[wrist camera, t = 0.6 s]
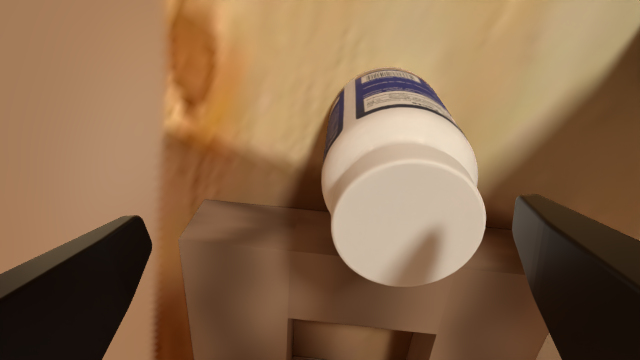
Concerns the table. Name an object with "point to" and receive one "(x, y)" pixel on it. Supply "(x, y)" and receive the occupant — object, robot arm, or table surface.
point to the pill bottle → (400, 181)
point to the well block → (342, 291)
